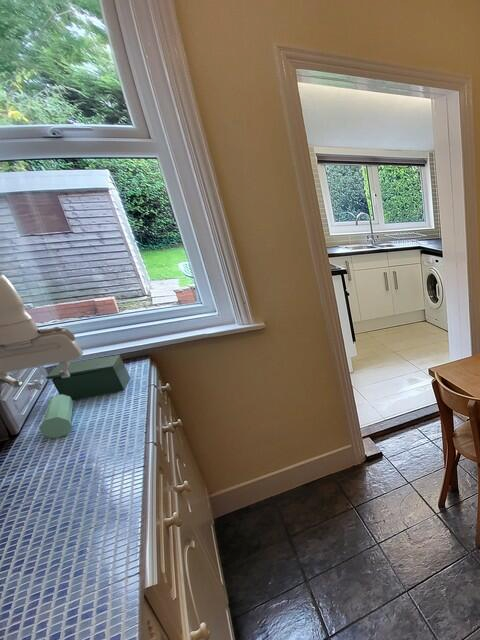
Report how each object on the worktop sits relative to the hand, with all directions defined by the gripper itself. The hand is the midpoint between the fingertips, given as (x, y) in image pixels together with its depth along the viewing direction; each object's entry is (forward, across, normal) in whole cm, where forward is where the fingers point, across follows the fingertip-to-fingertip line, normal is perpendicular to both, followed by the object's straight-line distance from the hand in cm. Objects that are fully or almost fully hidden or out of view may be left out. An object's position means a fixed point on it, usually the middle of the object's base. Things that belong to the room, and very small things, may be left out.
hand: (43, 381), depth 112 cm
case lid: (+4, -3, -24) cm, 25 cm away
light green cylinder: (+12, 0, 0) cm, 13 cm away
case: (+12, -4, -24) cm, 27 cm away
